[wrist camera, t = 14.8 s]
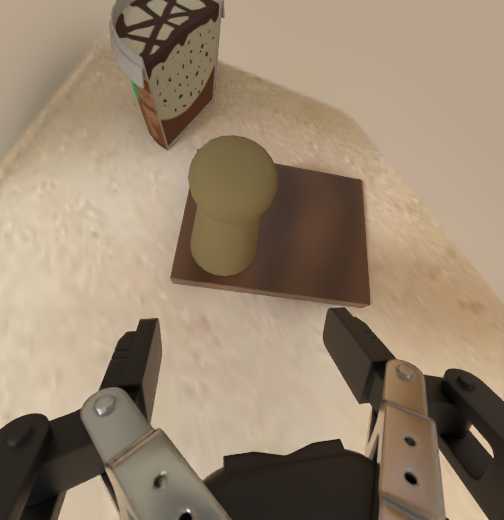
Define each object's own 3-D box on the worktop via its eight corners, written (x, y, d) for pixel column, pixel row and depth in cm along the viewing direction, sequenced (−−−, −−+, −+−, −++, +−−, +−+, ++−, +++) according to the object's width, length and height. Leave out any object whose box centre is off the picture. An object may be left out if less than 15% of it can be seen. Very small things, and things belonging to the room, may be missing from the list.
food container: (177, 70, 34) (166, -42, 24) (220, 93, 33) (225, -11, 24) (109, 131, 29) (64, 21, 20) (159, 159, 29) (136, 61, 19)
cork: (204, 286, 23) (202, 224, 13) (180, 225, 25) (162, 129, 15) (267, 262, 25) (310, 192, 15) (241, 207, 26) (263, 109, 16)
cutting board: (172, 283, 24) (169, 278, 23) (198, 158, 29) (197, 148, 28) (362, 308, 26) (371, 305, 25) (355, 187, 31) (362, 179, 30)
